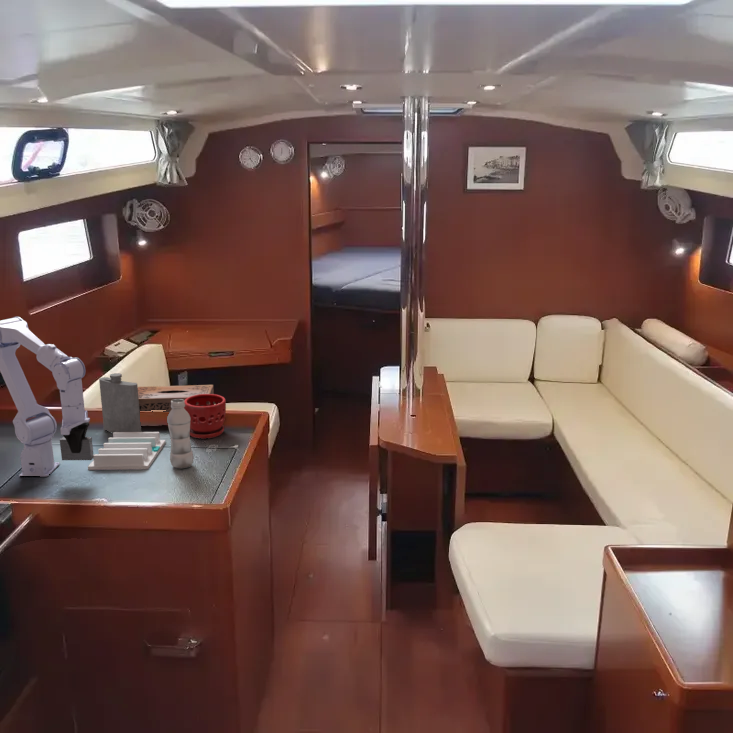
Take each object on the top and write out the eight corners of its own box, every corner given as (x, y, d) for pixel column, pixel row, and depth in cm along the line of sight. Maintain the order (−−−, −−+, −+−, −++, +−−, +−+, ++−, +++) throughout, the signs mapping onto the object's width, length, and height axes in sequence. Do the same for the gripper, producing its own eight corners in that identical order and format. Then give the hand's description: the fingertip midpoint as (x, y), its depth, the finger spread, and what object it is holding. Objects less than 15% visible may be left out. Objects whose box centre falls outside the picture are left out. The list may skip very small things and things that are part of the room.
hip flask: (143, 435, 240) (138, 375, 235) (134, 439, 236) (128, 379, 231) (109, 427, 248) (104, 369, 242) (99, 430, 244) (94, 372, 239)
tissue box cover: (131, 427, 248) (129, 399, 245) (140, 414, 262) (138, 386, 259) (210, 425, 250) (208, 396, 248) (214, 411, 264) (213, 384, 261)
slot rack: (147, 469, 213) (146, 456, 212) (88, 469, 213) (86, 456, 212) (165, 443, 233) (164, 430, 232) (111, 443, 233) (109, 431, 232)
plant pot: (178, 439, 236) (175, 403, 233) (199, 426, 249) (196, 391, 246) (215, 443, 233) (213, 407, 230) (234, 429, 245) (232, 395, 242)
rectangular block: (91, 460, 203) (89, 439, 202) (61, 460, 203) (59, 439, 202) (93, 457, 205) (91, 437, 203) (64, 457, 205) (62, 437, 203)
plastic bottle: (188, 472, 211) (183, 404, 206) (166, 470, 212) (161, 403, 207) (198, 463, 217) (193, 398, 212) (176, 461, 218) (171, 396, 213)
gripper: (77, 412, 193) (82, 460, 196) (96, 395, 207) (101, 441, 210) (50, 412, 193) (56, 461, 196) (71, 395, 207) (76, 441, 210)
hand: (77, 450), depth 203 cm, fingers closed on rectangular block, 2 cm apart
